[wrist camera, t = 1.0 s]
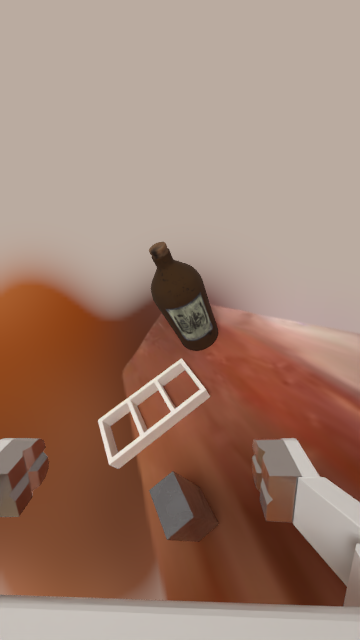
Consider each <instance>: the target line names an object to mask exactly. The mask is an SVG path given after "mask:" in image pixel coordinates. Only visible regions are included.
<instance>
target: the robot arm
mask: <svg viewBox="0 0 360 640" xmlns="http://www.w3.org/2000/svg"><path fill="white" fill-rule="evenodd" d="M45 448H46V446H45V443H44V440H42V439H31V438H29V439H28V438H4V439H1V440H0V517H19V516H20V515H21V513H22V512H23V510H24V509H25V507H26V506H27V504H28V503H29V501H30V500H31V498H32V491H33V490H34V489H36V488H37V487H38V486H40V485H41V483H42V482H43V480H44V479H45V477H46V474H47V471H48V467H49V461H48V457H47V456H46V454H45V453H44V452H43V451H44V449H45ZM253 451H254V454H255V455H254V456H253V457H252V472H253V478H254V482H255V486H256V488H257V489H258V490H259V491H260V503H261V506H262V509H263V512H264V516H265V519H266V521H275V522H293V525H294V526H295V527H296V528H297V529H298V530H299V532H300V533H301V534H302V535H303V536H304V537H305V538H306V540H307V541H308V542H309V543H310V544H311V545H312V547H313V548H314V549H315V550H316V551H317V552H318V554H319V555H320V556H321V557H322V558H323V559H324V560H325V562H326V563H327V564H328V565H329V566H330V567H331V569H332V570H333V571H334V572H335V573H336V574H337V576H338V577H339V578H340V579H341V580H342V581H343V582H344V584H345V585H346V586H347V591H346V595H345V600H344V605H343V607H341V606H312V605H284V604H255V603H226V602H197V601H168V600H138V599H109V598H79V597H50V596H47V597H46V596H18V595H0V640H360V502H358V501H357V500H356V499H354V498H353V497H351V496H350V495H349V494H347V493H346V492H344V491H343V490H342V489H340V488H339V487H338V486H336V485H335V484H333V483H332V482H331V481H329V480H328V479H326V478H325V477H320V476H319V474H318V473H317V471H316V470H315V468H314V466H313V465H312V463H311V462H310V460H309V458H308V457H307V455H306V453H305V452H304V450H303V449H302V447H301V445H300V444H299V442H298V440H296V439H295V438H281V439H254V440H253Z"/></svg>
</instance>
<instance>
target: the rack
mask: <svg viewBox="0 0 360 640" xmlns="http://www.w3.org/2000/svg"><path fill="white" fill-rule="evenodd" d="M184 370H185V371H186V372H187V373H188V375H189V376H190V377H191V379H192V380H193V381H194V383H195V384H196V385H197V387H198V388H199V389H200V390H199V391H198V392H196V393H195V394H194V395H192V396H191V397H190V398H188V399H187V400H186V401H185V402H183V403H182V404H181V405H179V406H178V407H177V408H176V407H175V406H174V404H173V402H172V401H171V399H170V397H169V396H168V394H167V392H166V391H165V389H164V387H163V386H164V385H166V384H167V383H168V382H170V381H171V380H172V379H174V378H175V377H176V376H178V375H179V374H180V373H182V372H183V371H184ZM158 390H159V392H160V393H161V395H162V397H163V399H164V400H165V402H166V404H167V406H168V408H169V409H170V411H171V412H170V413H169V414H168V415H166V416H165V417H164V418H163V419H161V420H160V421H159V422H157V423H156V424H155V425H154V426H152V427H151V428H150V429H148V430H147V427H146V425H145V423H144V420H143V418H142V416H141V414H140V411H139V409H138V407H137V406H138V405H139V404H140V403H142V402H143V401H144V400H146V399H147V398H148V397H150V396H151V395H152V394H154V393H155V392H156V391H158ZM209 397H210V395H209V394H208V392H207V390H206V389H205V388H204V386H203V385H202V384H201V383H200V381H199V380H198V379H197V377H196V376H195V375H194V374H193V372H192V371H191V370H190V368H189V367H188V366H187V365H186V363H185V362H184V361H183V360H182V358H181V359H180V360H179V361H177V362H176V363H175V364H173V365H172V366H170V367H169V368H168V369H166V370H165V371H164V372H162V373H161V374H160V375H158V376H157V377H156V378H154V379H153V380H152V381H150V382H149V383H147V384H146V385H145V386H143V387H142V388H141V389H139V390H138V391H137V392H135V393H134V394H133V395H131V396H130V397H129V398H127V399H126V400H124V401H123V402H121V403H120V404H119V405H117V406H116V407H115V408H113V409H112V410H111V411H109V412H108V413H107V414H105V415H104V416H103V417H102V418H100V419H99V420H98V423H99V427H100V431H101V435H102V438H103V442H104V446H105V450H106V454H107V458H108V462H109V465H111V466H113V467H115V468H118V469H119V468H120V467H122V466H123V465H124V464H125V463H127V462H128V461H129V460H130V459H132V458H133V457H134V456H136V455H137V454H138V453H139V452H141V451H142V450H143V449H144V448H146V447H147V446H148V445H150V444H151V443H152V442H153V441H155V440H156V439H157V438H158V437H160V436H161V435H162V434H164V433H165V432H166V431H167V430H169V429H170V428H171V427H173V426H174V425H175V424H176V423H178V422H179V421H180V420H181V419H183V418H184V417H185V416H187V415H188V414H189V413H190V412H192V411H193V410H194V409H195V408H197V407H198V406H199V405H201V404H202V403H203V402H204V401H206V400H207V399H208V398H209ZM130 411H131V414H132V416H133V419H134V421H135V424H136V426H137V429H138V431H139V434H140V436H139V437H138V438H137V439H135V440H134V441H133V442H132V443H130V444H129V445H128V446H126V447H125V448H124V449H123V450H121V451H120V452H119V453H118V450H117V447H116V444H115V440H114V437H113V434H112V430H111V427H110V426H111V425H112V424H114V423H115V422H116V421H118V420H119V419H120V418H122V417H123V416H124V415H126V414H127V413H128V412H130Z"/></svg>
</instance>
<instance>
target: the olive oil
mask: <svg viewBox="0 0 360 640" xmlns="http://www.w3.org/2000/svg"><path fill="white" fill-rule="evenodd" d="M149 252H150V254H151V255H152V259H153V261H154V262H155V264H156V266H157V270H156V273H155V275H154V278H153V281H152V284H151V292H152V296H153V300H154V302H155V303H156V305H157V306H158V308H159V309H160V311H161V312H162V314H163V315H164V316H165V318H166V319H167V321H168V322H169V324H170V325H171V327H172V328H173V330H174V331H175V333H176V334H177V336H178V337H179V339H180V340H181V342H182V344H183V345H184V346H185V347H186V348H188V349H190V350H202V349H205V348H207V347H209V346H210V345H211V344H212V343H213V342H214V341H215V340H216V338H217V336H218V328H217V325H216V322H215V319H214V316H213V313H212V310H211V307H210V304H209V300H208V297H207V294H206V290H205V288H204V284H203V281H202V278H201V276H200V275H199V273H198V272H197V271H196V270H195V269H194V268H193V267H192V266H190V265H188V264H185V263H182V262H179V261H175V260H173V258H172V256H171V253H170V251H169V249H168V248H167V246H166V244H165V243H164V242H159V243H156V244H154V245H153V246H152V247H151V248H150V249H149Z"/></svg>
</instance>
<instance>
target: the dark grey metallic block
mask: <svg viewBox="0 0 360 640" xmlns="http://www.w3.org/2000/svg"><path fill="white" fill-rule="evenodd" d="M149 491H150V494H151V497H152V499H153V502H154V505H155V508H156V510H157V513H158V516H159V519H160V522H161V524H162V527H163V530H164V533H165V535H166V538H167V540H178V541H194V542H199V541H200V540H201V539H202V538H204V537H205V536H206V535H207V534H208V533H209V532H210V531H211V530H213V529H214V528H215V527H216V526H217V525H218V524H219V523H218V521H217V519H216V518H215V516H214V514H213V512H212V510H211V508H210V506H209V504H208V502H207V500H206V498H205V496H204V495H203V493H202V491H201V489H200V487H199V486H197V485H195V484H194V483H192V482H190V481H189V480H187V479H185V478H184V477H182V476H180V475H179V474H177V473H175V472H173V471H172V472H171V473H170V474H169V475H167V476H166V477H165V478H164V479H163V480H161V481H160V482H159V483H158V484H156V485H155V486H154V487H153V488H152V489H150V490H149Z"/></svg>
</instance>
